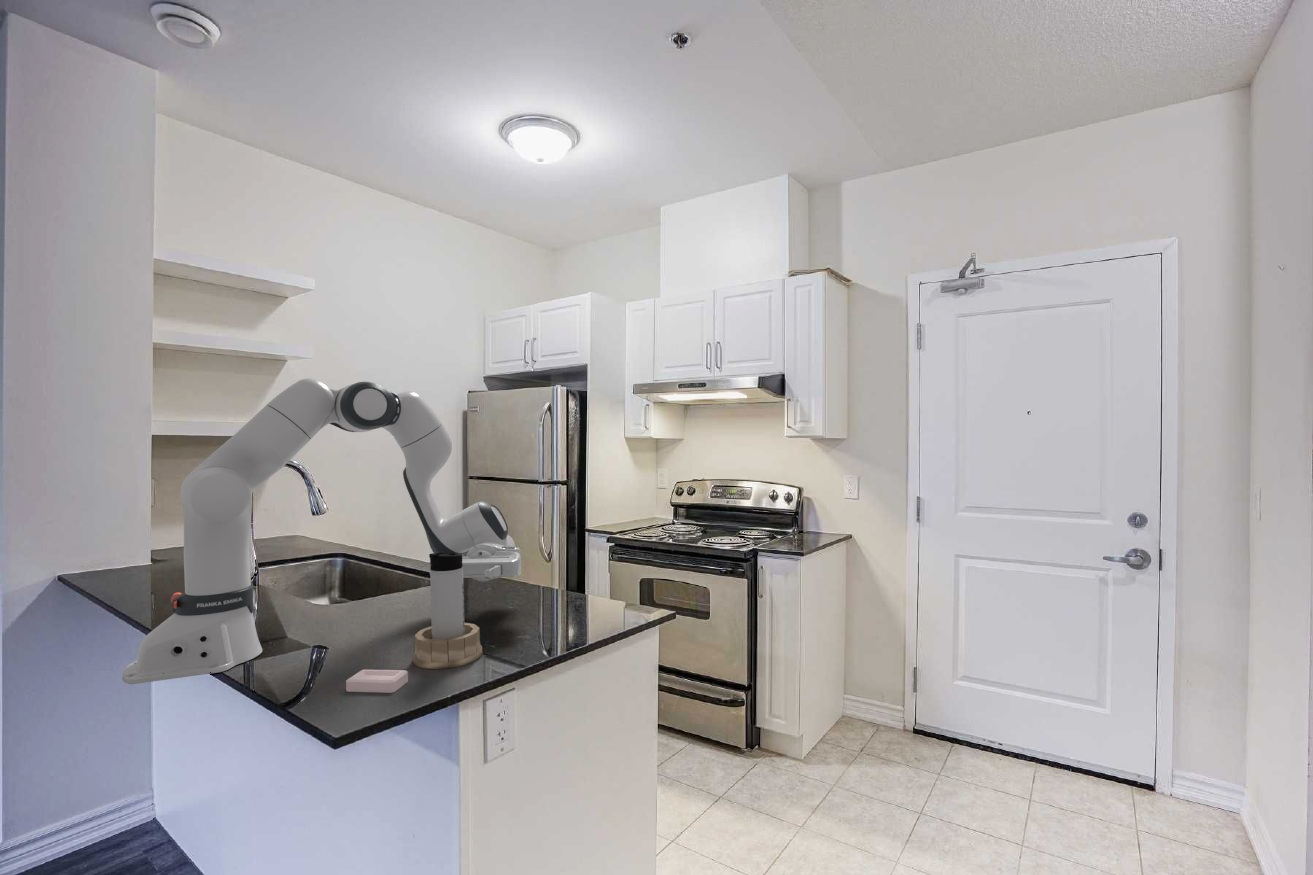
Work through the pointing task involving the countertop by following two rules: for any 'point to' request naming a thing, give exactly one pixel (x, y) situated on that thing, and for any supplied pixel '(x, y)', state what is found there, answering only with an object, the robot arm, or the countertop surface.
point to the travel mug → (447, 595)
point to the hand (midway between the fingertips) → (465, 575)
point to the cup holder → (447, 649)
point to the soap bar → (377, 681)
